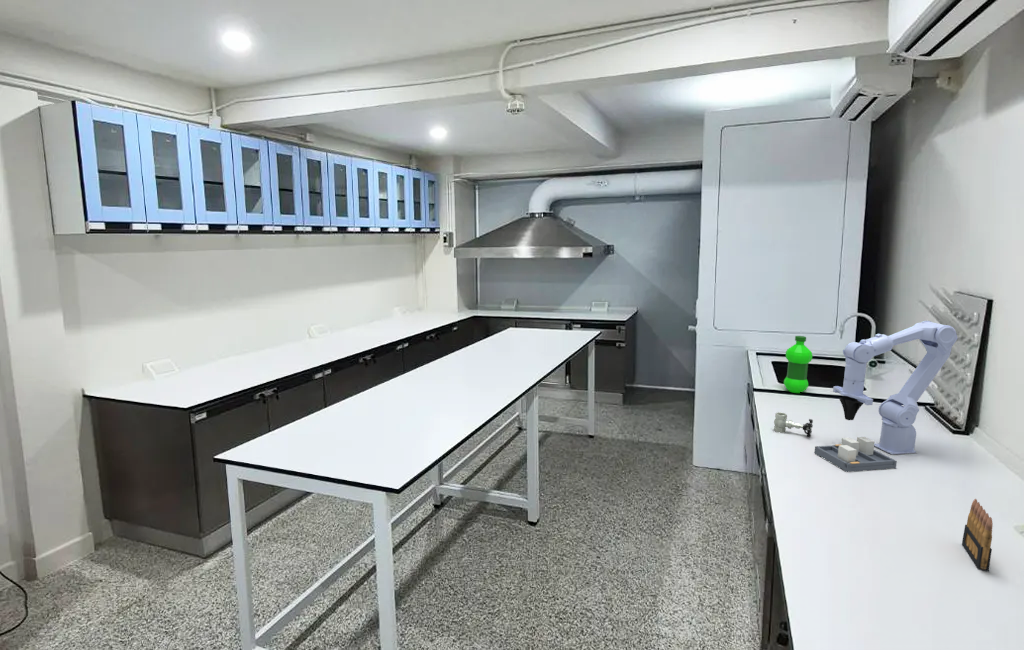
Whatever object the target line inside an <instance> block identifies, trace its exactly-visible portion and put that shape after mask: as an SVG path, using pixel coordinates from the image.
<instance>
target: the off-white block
mask: <svg viewBox="0 0 1024 650" xmlns="http://www.w3.org/2000/svg"><path fill="white" fill-rule="evenodd" d="M840 444H841V445H848V446H850V447H852V448H854V449H856V450H857V452H856V456H858V450H859V442H857V440H856V439H853V438H851V437H841V443H840Z"/></svg>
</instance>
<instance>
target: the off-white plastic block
mask: <svg viewBox="0 0 1024 650" xmlns="http://www.w3.org/2000/svg"><path fill="white" fill-rule="evenodd" d="M856 452H857V450H856V449H854V448H852V447H850V446H848V445H839V448H838V458H839V459H841V460H843V461H845V462H847V463H850V462H855V460H856Z"/></svg>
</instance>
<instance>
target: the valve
mask: <svg viewBox="0 0 1024 650" xmlns="http://www.w3.org/2000/svg"><path fill="white" fill-rule="evenodd" d="M774 414H775V416H774V417H775V419H774V421H773V423H774V427H773V431H775V433H779V432H780V434H784V433H786V431H787V430H786V429H790V430H791V429H794V428H795V429H798V430H800V429H802V431H803V432H804V433H805V434H806V437H807V438H811V435H812V432H813V430H812V428H813V426H814V425H813V423H814V420H813V419H812V418H809V419H808V421H809V422H806V423H805V424H804V423H803V424H801V423H797V422H793V420H792V419H791V420H790V419H789V420H788V414H787V413H786V412H782V411H781V412H779V411H777V412H776V413H774Z"/></svg>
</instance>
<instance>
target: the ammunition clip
mask: <svg viewBox="0 0 1024 650" xmlns="http://www.w3.org/2000/svg"><path fill="white" fill-rule="evenodd" d="M993 527H994V526H993V519H992V517H991V516H990V515H989V513H988V512H987V511H986V509H984V508H983V506H982V505H981V503H980V502H978V499H977V498H974V500H973V501H972V503H971V506H970V509H969V513H968V516H967V521H966V524H965V525H964V530H963V536H962V540H961V541H962V543H961V546H962V547H963V549H964V550H965V552H966V553H967V555H968V556H969V558H970V560H971V561H972V562H973V564H974V565H975V567H976V569H977V570H980V571H986V572H990V571H989V570H990V565H991V557H992V547H991V545H992V541H993Z"/></svg>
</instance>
